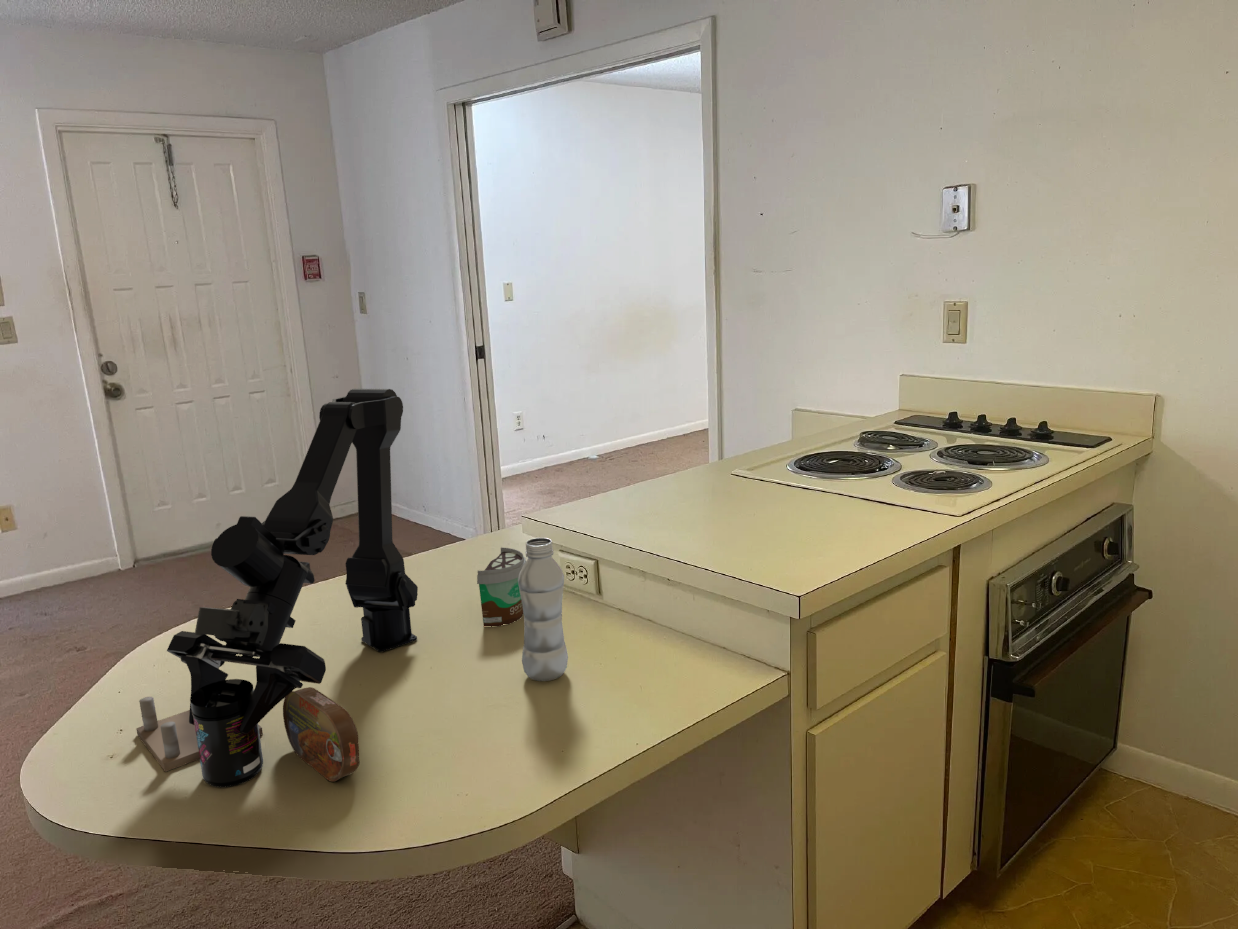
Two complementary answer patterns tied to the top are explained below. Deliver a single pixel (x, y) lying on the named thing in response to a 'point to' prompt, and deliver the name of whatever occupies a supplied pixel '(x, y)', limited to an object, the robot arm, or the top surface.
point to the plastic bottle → (542, 612)
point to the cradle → (169, 736)
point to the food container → (501, 588)
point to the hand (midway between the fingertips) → (217, 728)
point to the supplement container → (225, 733)
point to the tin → (321, 733)
